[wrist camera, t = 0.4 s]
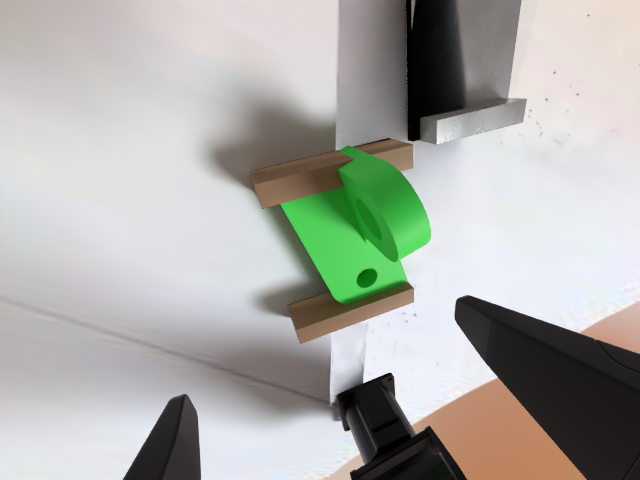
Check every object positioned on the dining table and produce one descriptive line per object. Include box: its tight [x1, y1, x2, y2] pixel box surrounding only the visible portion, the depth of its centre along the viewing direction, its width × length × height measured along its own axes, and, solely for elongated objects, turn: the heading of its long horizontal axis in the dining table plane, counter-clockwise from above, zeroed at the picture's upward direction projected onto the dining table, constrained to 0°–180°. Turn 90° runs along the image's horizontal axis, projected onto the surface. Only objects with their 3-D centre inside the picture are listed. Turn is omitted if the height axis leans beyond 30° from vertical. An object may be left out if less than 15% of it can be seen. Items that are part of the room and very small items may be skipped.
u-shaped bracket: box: [406, 0, 527, 145], centre depth 18 cm, size 12×8×3 cm, turn 10°
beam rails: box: [250, 138, 414, 344], centre depth 22 cm, size 13×10×3 cm
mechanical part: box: [280, 145, 431, 305], centre depth 20 cm, size 12×6×8 cm, turn 25°
